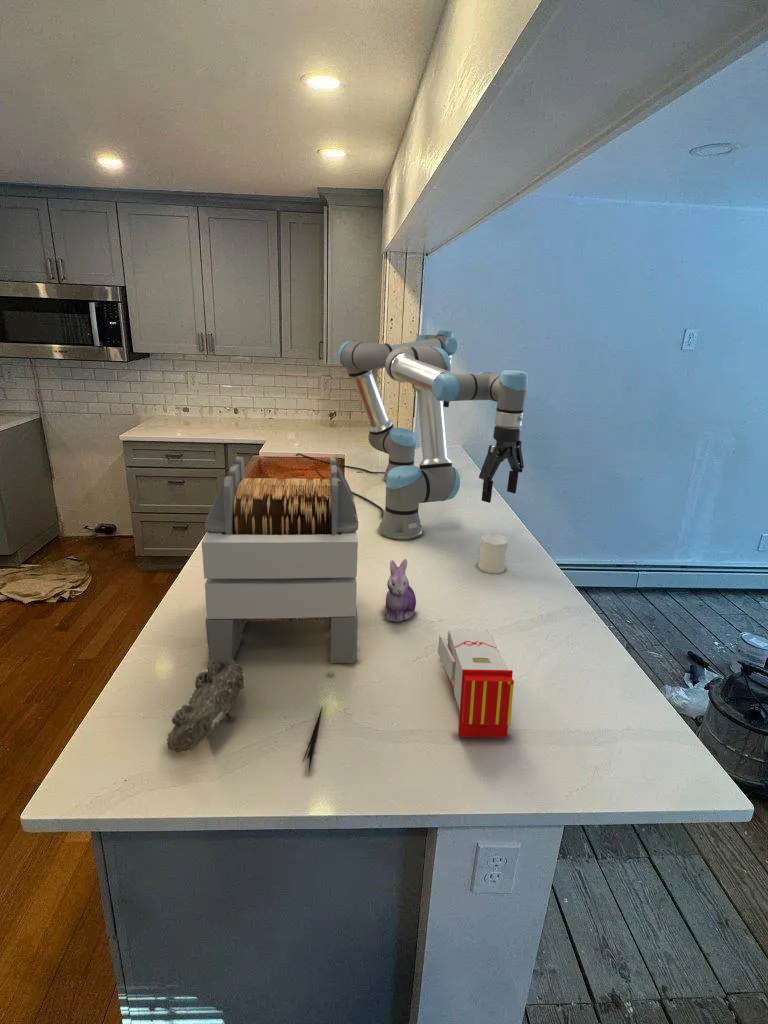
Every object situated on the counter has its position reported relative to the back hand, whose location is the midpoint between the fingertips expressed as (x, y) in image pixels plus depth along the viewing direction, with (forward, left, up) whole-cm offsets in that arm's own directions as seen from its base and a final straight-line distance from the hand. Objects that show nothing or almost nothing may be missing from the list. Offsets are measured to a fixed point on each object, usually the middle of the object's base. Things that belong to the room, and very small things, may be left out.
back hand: (439, 408), depth 279 cm
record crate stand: (+43, -160, -29) cm, 168 cm away
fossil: (+53, -193, -29) cm, 203 cm away
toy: (+90, -157, -29) cm, 184 cm away
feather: (+70, -182, -29) cm, 197 cm away
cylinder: (+70, -97, -29) cm, 123 cm away
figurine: (+62, -139, -29) cm, 155 cm away
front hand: (+70, -97, -6) cm, 120 cm away
